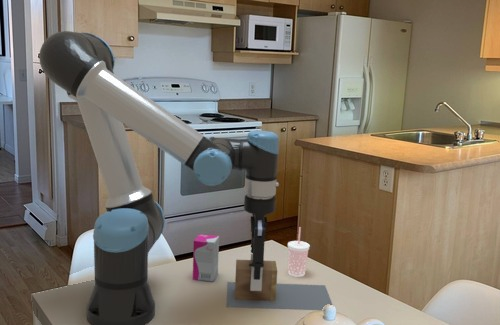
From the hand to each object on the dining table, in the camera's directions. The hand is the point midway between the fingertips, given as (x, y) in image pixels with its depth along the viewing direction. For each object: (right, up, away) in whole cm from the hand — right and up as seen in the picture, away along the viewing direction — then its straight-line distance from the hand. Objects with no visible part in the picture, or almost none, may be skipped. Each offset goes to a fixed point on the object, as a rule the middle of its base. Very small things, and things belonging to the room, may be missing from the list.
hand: (255, 284), depth 130 cm
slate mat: (+6, -4, +1) cm, 7 cm away
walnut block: (0, -3, +1) cm, 3 cm away
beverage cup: (+12, -1, +15) cm, 19 cm away
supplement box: (-13, -1, +10) cm, 17 cm away
